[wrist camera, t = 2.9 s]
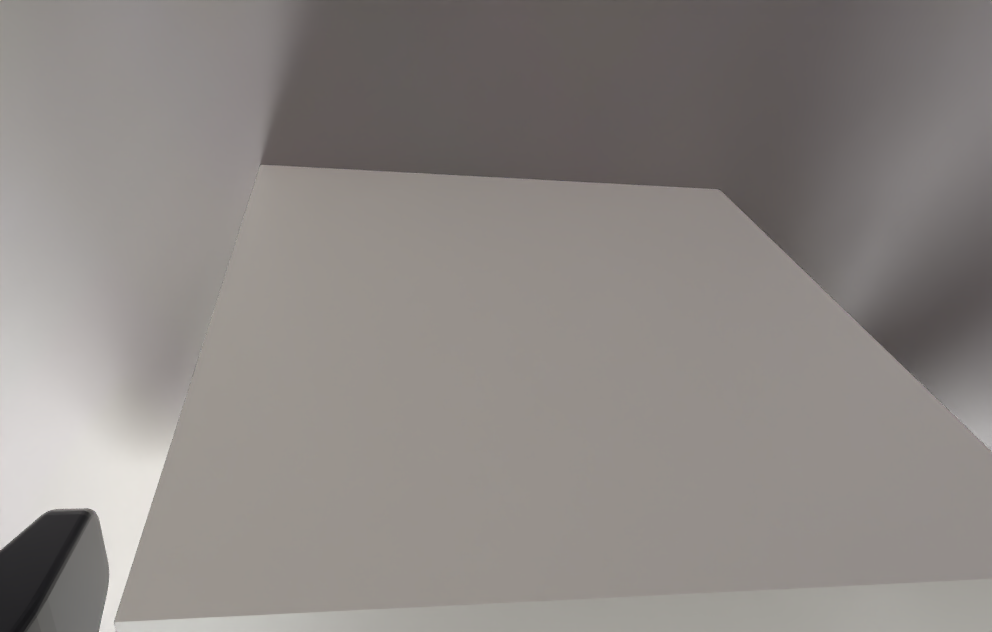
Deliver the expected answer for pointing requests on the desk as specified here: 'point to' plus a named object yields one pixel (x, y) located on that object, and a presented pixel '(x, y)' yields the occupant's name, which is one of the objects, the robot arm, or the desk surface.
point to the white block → (548, 428)
